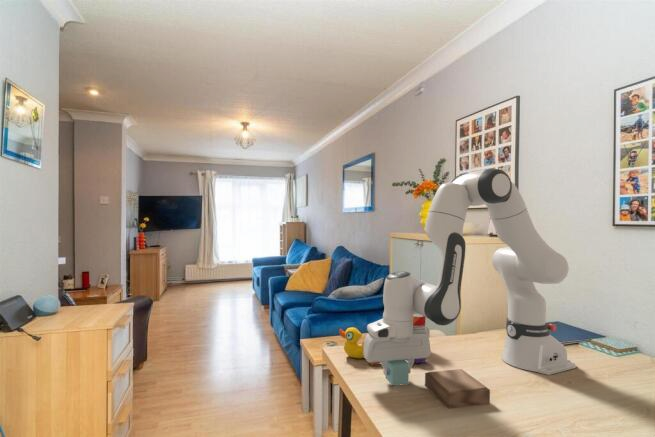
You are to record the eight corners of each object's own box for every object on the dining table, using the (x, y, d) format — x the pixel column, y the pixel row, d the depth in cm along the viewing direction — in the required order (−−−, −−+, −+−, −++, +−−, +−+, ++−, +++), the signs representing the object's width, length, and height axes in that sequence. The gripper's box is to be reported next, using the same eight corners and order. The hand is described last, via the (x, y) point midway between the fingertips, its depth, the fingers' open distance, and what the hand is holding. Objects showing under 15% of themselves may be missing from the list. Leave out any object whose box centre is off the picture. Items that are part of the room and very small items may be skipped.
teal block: (400, 376, 102) (401, 356, 102) (408, 384, 97) (408, 363, 97) (385, 377, 101) (385, 357, 101) (392, 385, 96) (392, 365, 96)
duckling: (335, 356, 116) (336, 327, 116) (342, 351, 121) (342, 323, 121) (366, 363, 111) (367, 333, 111) (372, 357, 116) (372, 328, 116)
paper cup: (404, 343, 130) (404, 307, 130) (424, 344, 129) (425, 308, 129) (405, 350, 122) (406, 312, 122) (427, 352, 121) (428, 313, 121)
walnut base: (461, 381, 100) (461, 368, 100) (489, 403, 88) (489, 388, 88) (425, 385, 97) (425, 371, 97) (448, 408, 85) (449, 392, 85)
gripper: (424, 322, 105) (423, 366, 105) (362, 325, 100) (361, 371, 100) (435, 328, 99) (434, 375, 99) (369, 332, 94) (368, 381, 94)
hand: (396, 373), depth 99 cm, fingers closed on teal block, 5 cm apart
